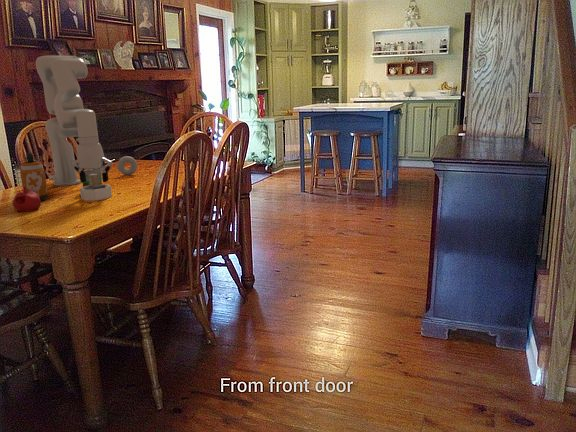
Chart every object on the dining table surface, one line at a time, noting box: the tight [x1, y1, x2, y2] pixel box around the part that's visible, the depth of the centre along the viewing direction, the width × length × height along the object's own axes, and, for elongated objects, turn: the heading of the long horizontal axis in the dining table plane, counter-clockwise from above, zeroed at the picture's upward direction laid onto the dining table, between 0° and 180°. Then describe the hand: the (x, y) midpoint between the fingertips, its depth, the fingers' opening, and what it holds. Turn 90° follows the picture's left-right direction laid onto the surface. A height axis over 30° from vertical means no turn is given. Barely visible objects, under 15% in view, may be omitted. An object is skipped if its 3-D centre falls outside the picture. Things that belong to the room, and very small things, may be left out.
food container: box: [82, 168, 103, 187], centre depth 221 cm, size 12×6×10 cm, turn 168°
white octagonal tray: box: [79, 183, 113, 202], centre depth 208 cm, size 11×11×4 cm
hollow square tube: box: [86, 183, 105, 190], centre depth 208 cm, size 6×6×4 cm
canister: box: [19, 152, 49, 202], centre depth 206 cm, size 9×11×20 cm
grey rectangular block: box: [89, 174, 101, 187], centre depth 207 cm, size 3×3×9 cm
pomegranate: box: [11, 186, 42, 213], centre depth 190 cm, size 10×10×9 cm
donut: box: [116, 155, 138, 176], centre depth 257 cm, size 10×3×10 cm, turn 109°
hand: (94, 181), depth 207 cm, fingers open, 9 cm apart
